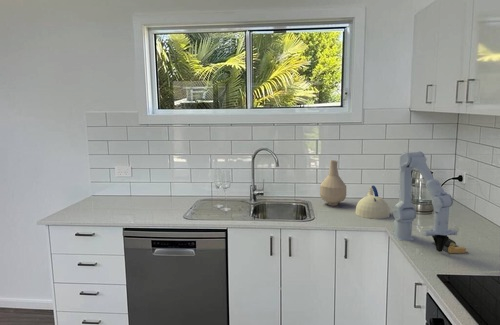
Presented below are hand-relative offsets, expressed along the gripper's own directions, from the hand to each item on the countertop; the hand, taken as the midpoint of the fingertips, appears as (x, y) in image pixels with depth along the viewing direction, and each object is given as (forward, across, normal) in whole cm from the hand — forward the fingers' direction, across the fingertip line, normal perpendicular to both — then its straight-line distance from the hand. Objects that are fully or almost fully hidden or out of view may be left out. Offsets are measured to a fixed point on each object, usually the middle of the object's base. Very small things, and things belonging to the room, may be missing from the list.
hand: (439, 250), depth 169 cm
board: (+2, +8, +2) cm, 9 cm away
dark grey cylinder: (+1, +8, +7) cm, 11 cm away
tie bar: (+1, +8, 0) cm, 9 cm away
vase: (+2, -20, +92) cm, 94 cm away
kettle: (+2, -4, +66) cm, 66 cm away
